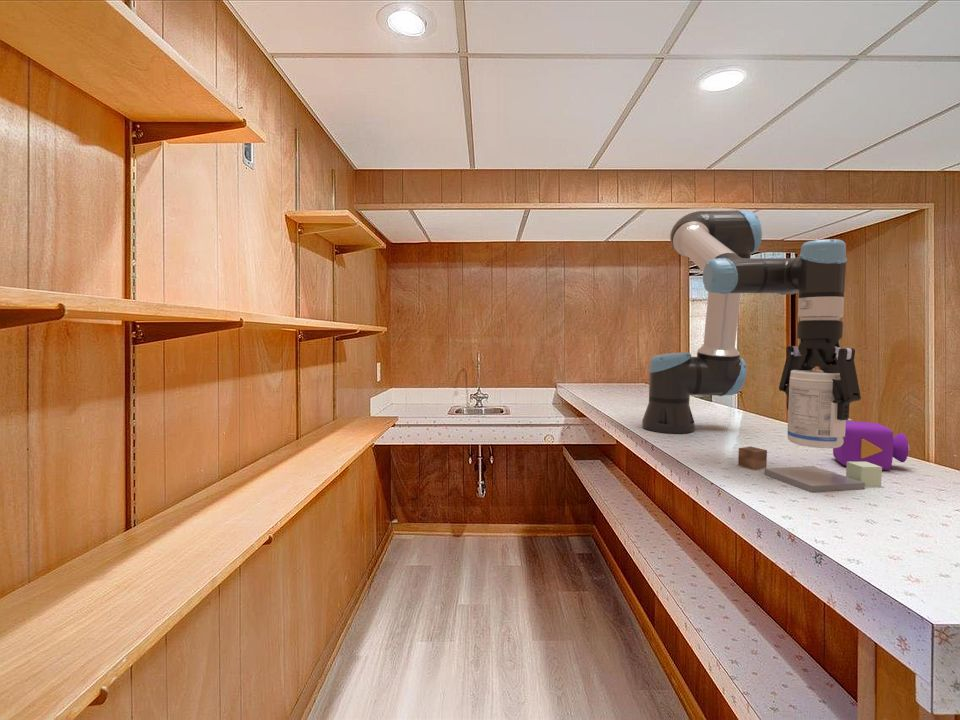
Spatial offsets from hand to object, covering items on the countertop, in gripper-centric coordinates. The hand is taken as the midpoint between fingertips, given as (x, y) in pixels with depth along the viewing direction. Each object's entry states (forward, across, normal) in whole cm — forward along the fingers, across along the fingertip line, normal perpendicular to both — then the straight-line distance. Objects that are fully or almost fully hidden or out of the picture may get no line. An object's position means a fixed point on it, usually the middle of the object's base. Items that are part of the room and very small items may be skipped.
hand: (814, 431), depth 102 cm
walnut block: (+10, -12, -4) cm, 17 cm away
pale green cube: (+10, +3, +9) cm, 14 cm away
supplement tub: (+3, 0, 0) cm, 3 cm away
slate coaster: (+10, 0, 0) cm, 10 cm away
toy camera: (+10, -8, +23) cm, 27 cm away
